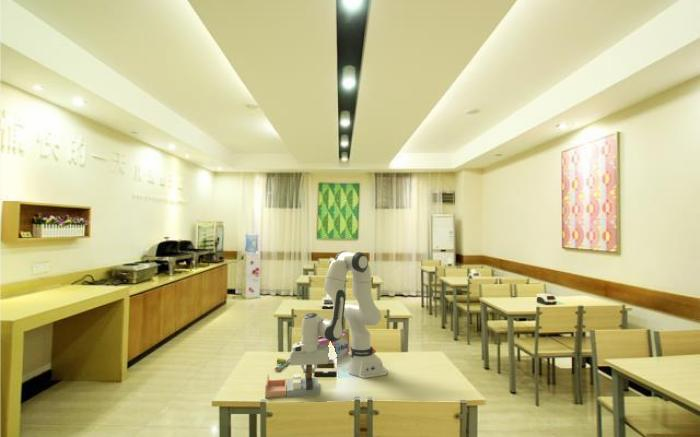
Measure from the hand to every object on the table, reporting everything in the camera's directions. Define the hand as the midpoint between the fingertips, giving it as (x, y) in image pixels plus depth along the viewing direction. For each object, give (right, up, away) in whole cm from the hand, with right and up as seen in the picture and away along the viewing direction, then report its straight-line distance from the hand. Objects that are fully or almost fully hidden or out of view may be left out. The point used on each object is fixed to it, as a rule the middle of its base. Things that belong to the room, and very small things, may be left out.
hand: (308, 372), depth 177 cm
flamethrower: (-19, -10, +35) cm, 41 cm away
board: (-3, -9, -1) cm, 9 cm away
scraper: (0, -5, 0) cm, 5 cm away
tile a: (-7, -6, +2) cm, 9 cm away
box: (-16, -8, -3) cm, 18 cm away
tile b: (-5, -5, -4) cm, 9 cm away
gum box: (+10, -11, +46) cm, 48 cm away
